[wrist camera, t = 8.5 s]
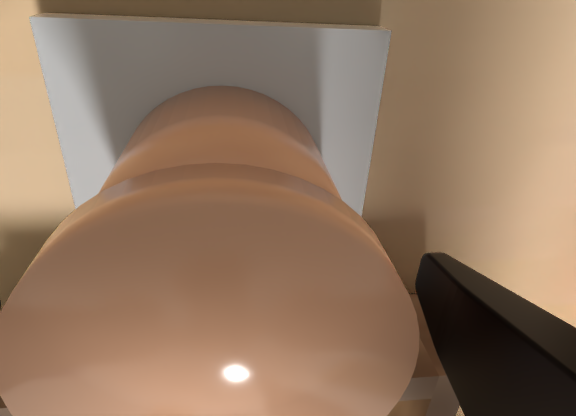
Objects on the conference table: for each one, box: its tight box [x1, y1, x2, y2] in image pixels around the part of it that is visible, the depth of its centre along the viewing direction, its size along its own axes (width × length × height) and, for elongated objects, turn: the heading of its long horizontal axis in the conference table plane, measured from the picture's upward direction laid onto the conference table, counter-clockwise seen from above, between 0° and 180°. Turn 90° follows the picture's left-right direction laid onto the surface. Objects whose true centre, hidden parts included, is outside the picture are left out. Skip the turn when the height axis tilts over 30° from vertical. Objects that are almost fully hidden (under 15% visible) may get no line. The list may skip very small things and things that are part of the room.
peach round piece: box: [0, 86, 420, 416], centre depth 10 cm, size 7×7×7 cm
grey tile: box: [29, 13, 392, 217], centre depth 13 cm, size 9×9×1 cm
